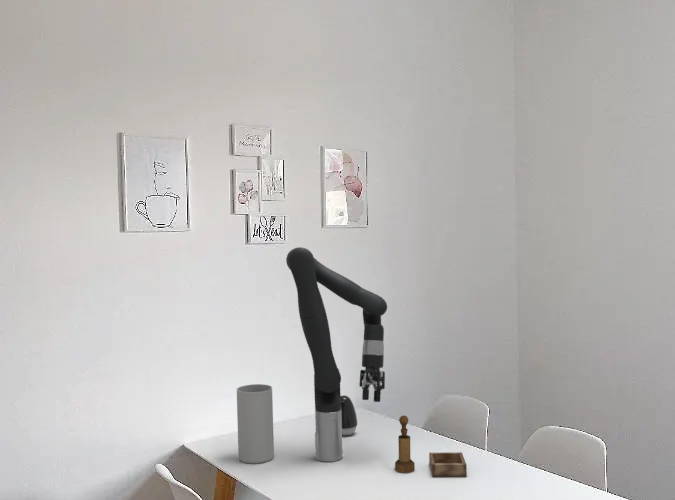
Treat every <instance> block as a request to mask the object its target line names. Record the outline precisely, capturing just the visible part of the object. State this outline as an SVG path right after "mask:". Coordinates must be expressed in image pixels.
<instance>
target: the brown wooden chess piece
mask: <svg viewBox="0 0 675 500" xmlns="http://www.w3.org/2000/svg"><path fill="white" fill-rule="evenodd" d="M398 421H399V423H400V425H401V429H400V435H398V440H397V441H398V459H397V460H395V462H394V470H395V471H396V472H398V473H400V474H401V473H402V474H409V473H413V472H414V471H415V468H416V467H415V462H414V461H413V460H412V459H411V436H410V435H408V428H407V425H408V423H409V418H408V416H406V415H400V416H399V419H398Z"/></svg>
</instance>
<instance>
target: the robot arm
mask: <svg viewBox="0 0 675 500" xmlns="http://www.w3.org/2000/svg"><path fill="white" fill-rule="evenodd" d="M285 261H286V265H287V267H288V269H289V270H290V271H291V272H290V273H291V274H292V277H293V280H294V283H295V287H296V292H297V305H298V306H297V307H298V314H299V318H300V323H301V327H302V331H303V335H304V339H305V341H306V343H307V346H308V349H309V351H310V352H309V353H310V355H311V358H312V365H313V373H314V374H313V381H314V384H313V385H314V386H313V387H314V388H313V389H314V415H315V417H314V418H315V432H314V438H315V439H314V445H315V446H314V447H315V449H314V450H315V461H319V462H325V463H327V462H329V463H330V462H337V461H338V462H339V461H340V460H342V459H343V436H342V415H341V396H342V395H341V382H342V376H341V372H340V369H339V368H338V365H337V363H336V360H335V357H334V353H333V349H332V339H331V338H332V337H331V332H330V330H331V329H330V326H329V325H330V324H329V320H328V315H327V311H326V308H325V304H324V301H323V297H322V295H321V291H320V288H319V284H320V285H322V286H323V287H324V288H326V289H328V290H329V291H331V293H332V294H335V295H337V297H339V298H341V299H343V300H344V301H345V302H347V303H349V304H351V305H354V306H357V307H359V308H361V309H362V318H363V320H362V321H363V328H364V329H363V344H362V353H361V355H362V356H361V366H362V367H363V368H365V369H361V370H359V371H360V372H359V387H360V388H361V390H362V393H361V394H362V395H361V396H362V400H363V401H368V400H369V398H370V387H371V385H372V386H373V402H375V403H380V402H381V395H382V394H381V393H382V391H383V390H385V389H386V388H385V385H386V380H385V376H386V372H385V371H383V370H380V368H381V369H382V368H383V367H384V359H385V358H384V357H385V355H384V354H385V344H384V343H385V342H384V337H385V333H384V332H385V328H384V326H383V324H382V316H383V315H385V314H386V312H387V310H388V303H387V301H386V300H385V299H384V297H382V296H380V295H378V294H376V293H375V292H372V291H370V290H368V289H365V288H363V287H362V286H361V285H359V284H357V283H355V282H354V281H353V280H351V279H350V278H348V277H345V276H344V275H342V274H340V273H339V272H336V271H334V270H333V269H331V268H329V267H327V266H326V265H325V264H323V263H321V262H320V261H319V260H317V259H316V257H314V255H313V253H312V251H310V249H308V248H307V247H299V246H298V247H294V248H293V249H291V250H289V252H288V253H287V255H286V259H285Z"/></svg>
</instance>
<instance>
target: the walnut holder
mask: <svg viewBox="0 0 675 500" xmlns="http://www.w3.org/2000/svg"><path fill="white" fill-rule="evenodd" d="M428 457H429V461H428V463H429V468H430V472H431V473H430V474H431V478H467V476H468V474H467V472H468V471H467V463H466V459H465V457H464V455H463V452H459V451H458V452H453V451H452V452H446V451H445V452H429V453H428Z"/></svg>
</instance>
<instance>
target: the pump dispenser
mask: <svg viewBox="0 0 675 500" xmlns="http://www.w3.org/2000/svg"><path fill="white" fill-rule="evenodd" d="M341 415H342V435H343V436H342V437H346V436H345V435H348V436H350V435H352V434H354V433H355V431H356V429H357V427H358V417H357V413H356V409H355V406H354V403H353V401H352V399H351V398H350V397H349V396H348V395H345V394H344V395H341Z"/></svg>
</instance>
